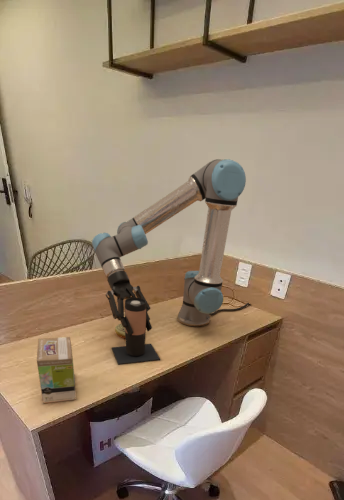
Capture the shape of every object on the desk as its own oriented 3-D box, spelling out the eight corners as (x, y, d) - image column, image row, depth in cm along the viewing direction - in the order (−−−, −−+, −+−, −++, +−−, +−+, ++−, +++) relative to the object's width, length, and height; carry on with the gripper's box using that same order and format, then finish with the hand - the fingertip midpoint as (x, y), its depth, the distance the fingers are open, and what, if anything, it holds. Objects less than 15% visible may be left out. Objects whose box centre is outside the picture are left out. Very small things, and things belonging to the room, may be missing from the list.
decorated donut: (129, 342, 139) (129, 333, 137) (110, 334, 144) (109, 326, 142) (145, 334, 146) (145, 326, 144) (126, 327, 151) (126, 319, 149)
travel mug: (134, 344, 134) (134, 295, 123) (149, 351, 131) (150, 301, 120) (121, 351, 129) (120, 301, 118) (136, 358, 125) (136, 306, 114)
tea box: (77, 400, 104) (72, 357, 96) (42, 404, 101) (34, 361, 93) (74, 374, 116) (70, 335, 108) (43, 377, 113) (36, 337, 105)
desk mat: (150, 344, 138) (150, 343, 138) (160, 360, 128) (160, 358, 128) (111, 348, 133) (111, 347, 133) (118, 365, 123) (118, 363, 123)
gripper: (135, 277, 132) (158, 330, 131) (88, 284, 121) (112, 342, 120) (143, 266, 126) (167, 322, 125) (94, 273, 115) (120, 334, 114)
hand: (140, 331), depth 123 cm, fingers closed on travel mug, 7 cm apart
